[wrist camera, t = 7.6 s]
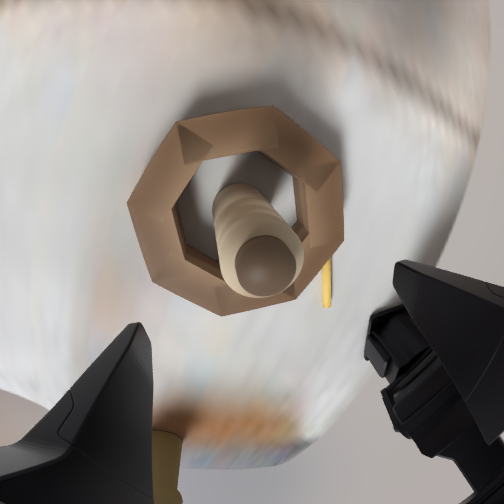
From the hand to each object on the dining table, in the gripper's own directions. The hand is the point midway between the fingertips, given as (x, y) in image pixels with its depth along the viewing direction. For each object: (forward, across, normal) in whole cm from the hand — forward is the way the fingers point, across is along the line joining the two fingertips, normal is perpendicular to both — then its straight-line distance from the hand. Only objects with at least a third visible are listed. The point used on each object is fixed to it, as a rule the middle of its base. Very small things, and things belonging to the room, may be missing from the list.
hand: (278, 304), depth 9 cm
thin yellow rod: (+11, -6, +6) cm, 14 cm away
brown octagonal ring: (+11, 0, 0) cm, 11 cm away
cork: (+11, +16, +28) cm, 34 cm away
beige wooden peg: (+11, 0, 0) cm, 11 cm away
